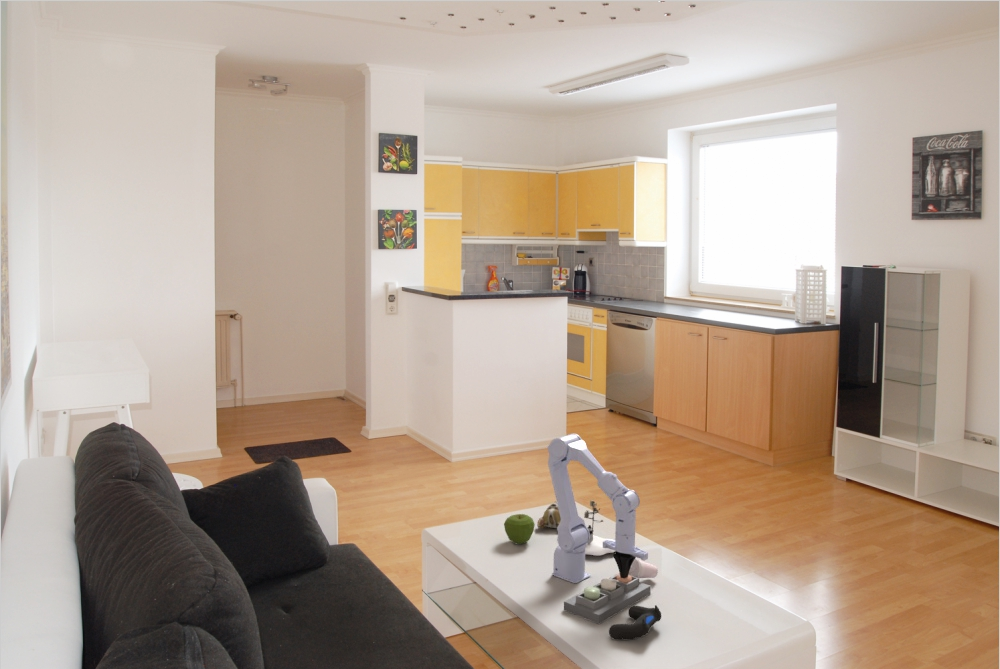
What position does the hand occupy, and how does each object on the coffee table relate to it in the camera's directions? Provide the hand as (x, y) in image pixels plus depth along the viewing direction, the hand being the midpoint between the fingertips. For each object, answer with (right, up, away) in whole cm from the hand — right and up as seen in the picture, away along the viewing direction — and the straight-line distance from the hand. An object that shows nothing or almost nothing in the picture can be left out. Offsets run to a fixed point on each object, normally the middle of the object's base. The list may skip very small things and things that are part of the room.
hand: (624, 577), depth 229 cm
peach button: (0, -2, 0) cm, 2 cm away
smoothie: (+11, -2, +11) cm, 15 cm away
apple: (-30, -1, +40) cm, 50 cm away
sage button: (-11, -2, -12) cm, 16 cm away
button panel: (-5, -5, -5) cm, 9 cm away
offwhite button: (-5, -1, -6) cm, 8 cm away
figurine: (-5, -2, +35) cm, 35 cm away
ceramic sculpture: (-17, +1, +56) cm, 59 cm away
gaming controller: (0, -8, -23) cm, 24 cm away
